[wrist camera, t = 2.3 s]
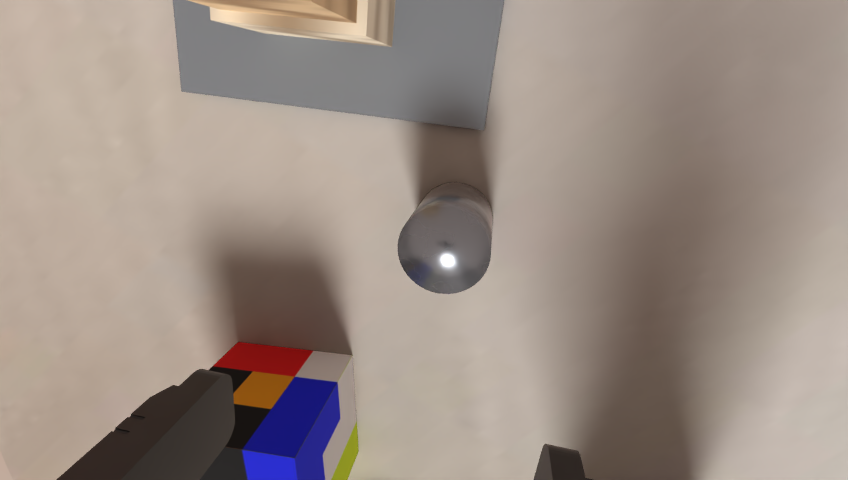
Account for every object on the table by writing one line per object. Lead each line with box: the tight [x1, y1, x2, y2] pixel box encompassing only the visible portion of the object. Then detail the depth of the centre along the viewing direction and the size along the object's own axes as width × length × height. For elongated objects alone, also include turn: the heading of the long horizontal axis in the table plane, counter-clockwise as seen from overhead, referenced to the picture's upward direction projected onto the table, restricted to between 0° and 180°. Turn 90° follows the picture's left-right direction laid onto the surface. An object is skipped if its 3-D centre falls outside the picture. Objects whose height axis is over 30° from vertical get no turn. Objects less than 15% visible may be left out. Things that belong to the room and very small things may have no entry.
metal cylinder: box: [398, 182, 493, 294], centre depth 25 cm, size 5×5×6 cm
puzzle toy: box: [200, 342, 358, 480], centre depth 31 cm, size 10×10×10 cm
